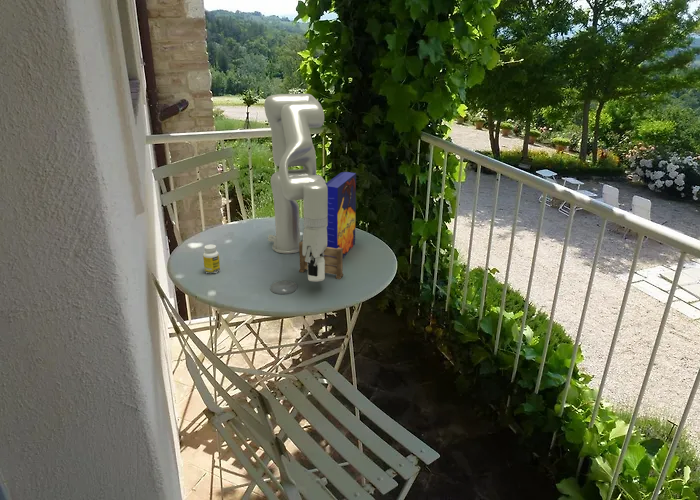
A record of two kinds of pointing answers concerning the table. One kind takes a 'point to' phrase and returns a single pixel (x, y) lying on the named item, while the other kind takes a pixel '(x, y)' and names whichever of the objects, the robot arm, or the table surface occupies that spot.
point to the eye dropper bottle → (320, 270)
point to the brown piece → (326, 261)
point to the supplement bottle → (211, 259)
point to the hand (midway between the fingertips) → (316, 271)
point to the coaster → (283, 287)
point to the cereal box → (341, 211)
